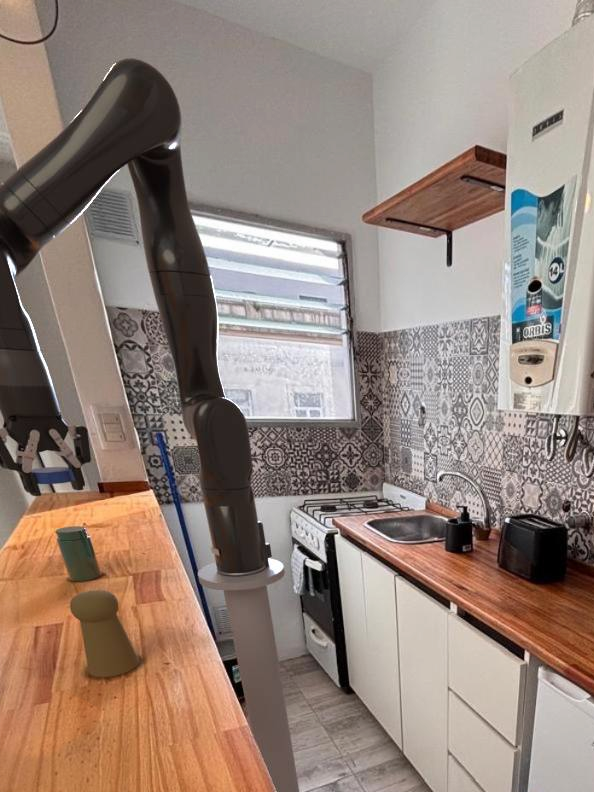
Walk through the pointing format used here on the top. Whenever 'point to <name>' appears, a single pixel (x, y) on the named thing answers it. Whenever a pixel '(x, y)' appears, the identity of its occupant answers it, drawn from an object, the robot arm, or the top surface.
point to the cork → (103, 634)
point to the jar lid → (54, 475)
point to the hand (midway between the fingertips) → (57, 492)
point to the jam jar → (78, 553)
